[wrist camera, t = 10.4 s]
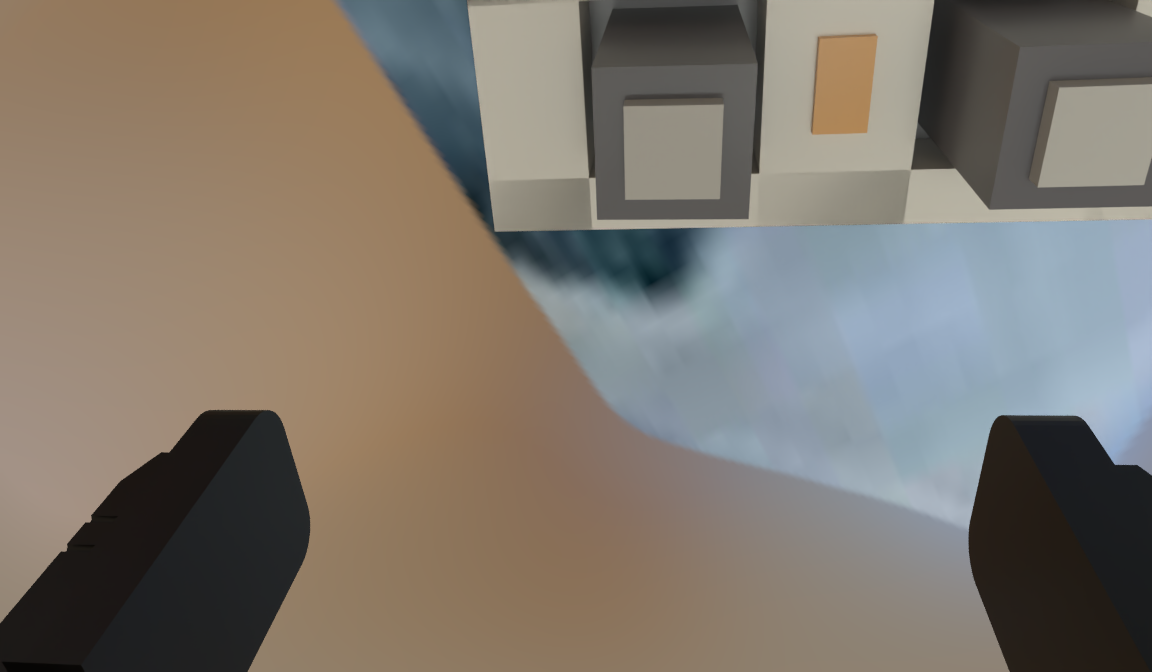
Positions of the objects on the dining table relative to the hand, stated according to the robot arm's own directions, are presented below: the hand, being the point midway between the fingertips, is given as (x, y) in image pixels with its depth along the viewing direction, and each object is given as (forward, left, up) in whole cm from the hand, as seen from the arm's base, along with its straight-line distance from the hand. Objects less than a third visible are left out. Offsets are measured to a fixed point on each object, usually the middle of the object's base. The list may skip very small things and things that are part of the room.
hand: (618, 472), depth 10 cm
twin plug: (+1, +10, -22) cm, 24 cm away
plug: (+1, +1, -22) cm, 22 cm away
